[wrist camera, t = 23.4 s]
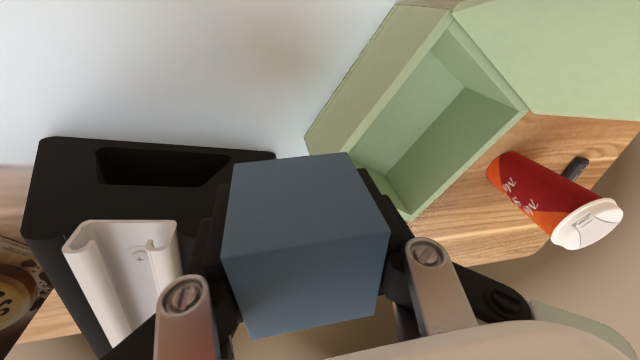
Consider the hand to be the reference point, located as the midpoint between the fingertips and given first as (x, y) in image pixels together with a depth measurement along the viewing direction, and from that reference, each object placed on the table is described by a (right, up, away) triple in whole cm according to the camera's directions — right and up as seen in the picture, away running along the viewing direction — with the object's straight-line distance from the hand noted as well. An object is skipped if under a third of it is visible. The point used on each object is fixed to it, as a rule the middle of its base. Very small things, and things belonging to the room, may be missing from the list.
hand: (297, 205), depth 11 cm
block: (0, 0, 0) cm, 0 cm away
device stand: (-17, -4, +24) cm, 30 cm away
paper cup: (+30, +3, +30) cm, 43 cm away
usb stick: (+44, +1, +35) cm, 56 cm away
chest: (+9, +10, +20) cm, 24 cm away
